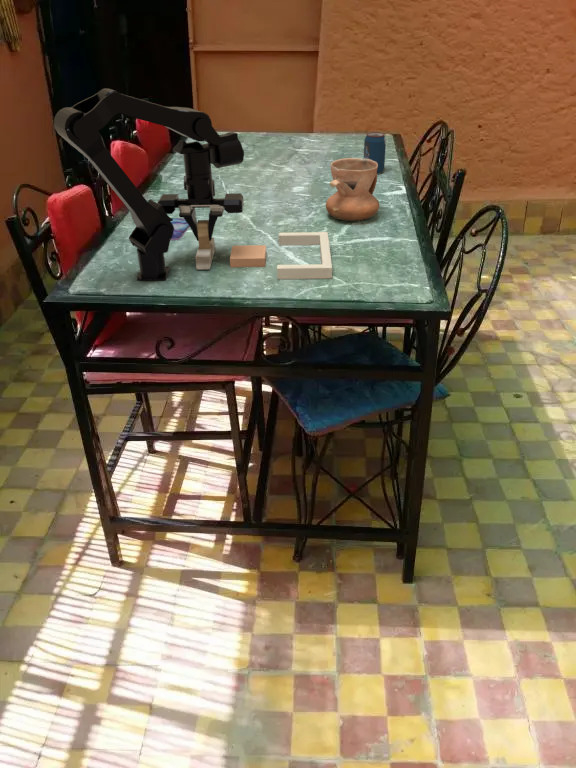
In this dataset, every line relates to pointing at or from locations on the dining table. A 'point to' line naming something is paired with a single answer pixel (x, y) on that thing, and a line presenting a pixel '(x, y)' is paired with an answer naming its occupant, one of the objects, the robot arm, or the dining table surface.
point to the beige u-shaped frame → (307, 270)
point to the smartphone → (179, 228)
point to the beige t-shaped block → (204, 246)
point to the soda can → (375, 149)
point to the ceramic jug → (353, 189)
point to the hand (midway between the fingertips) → (204, 240)
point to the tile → (248, 256)
